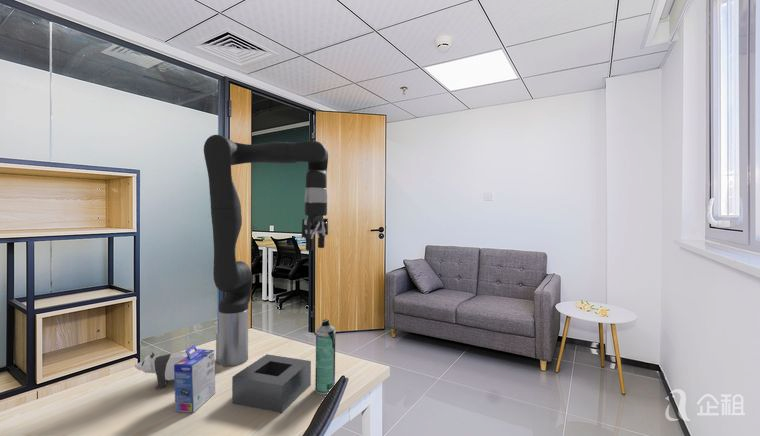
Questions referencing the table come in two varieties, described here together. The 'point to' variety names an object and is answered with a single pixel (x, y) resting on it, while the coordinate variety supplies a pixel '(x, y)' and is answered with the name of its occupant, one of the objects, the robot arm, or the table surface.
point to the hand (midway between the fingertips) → (315, 249)
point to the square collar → (271, 383)
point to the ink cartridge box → (194, 379)
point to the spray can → (325, 358)
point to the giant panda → (161, 366)
